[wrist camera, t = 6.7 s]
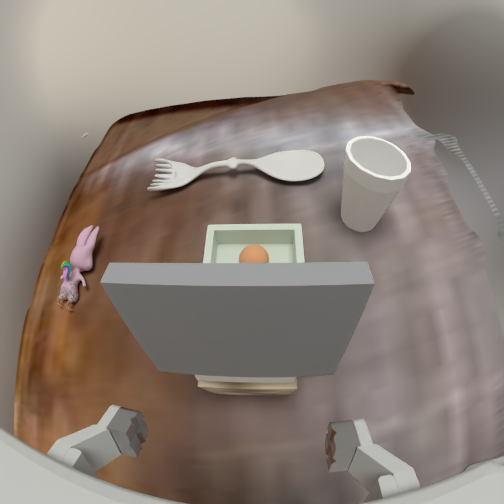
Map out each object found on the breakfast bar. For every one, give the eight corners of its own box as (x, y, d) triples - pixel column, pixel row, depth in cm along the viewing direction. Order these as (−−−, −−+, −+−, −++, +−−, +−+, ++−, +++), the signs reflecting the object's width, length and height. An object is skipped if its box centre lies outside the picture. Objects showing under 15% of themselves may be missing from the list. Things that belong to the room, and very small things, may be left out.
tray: (298, 240, 43) (301, 223, 39) (304, 323, 36) (308, 312, 32) (212, 241, 43) (208, 224, 40) (203, 323, 36) (197, 312, 33)
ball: (268, 257, 41) (268, 237, 38) (269, 280, 38) (269, 260, 35) (240, 258, 41) (238, 238, 38) (239, 280, 38) (236, 260, 35)
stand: (288, 326, 36) (294, 298, 28) (289, 395, 31) (297, 388, 23) (218, 325, 36) (205, 298, 29) (214, 393, 31) (197, 386, 24)
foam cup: (391, 239, 42) (421, 181, 31) (338, 241, 42) (357, 179, 31) (375, 196, 47) (395, 138, 36) (326, 196, 47) (338, 134, 36)
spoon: (158, 169, 54) (154, 156, 51) (316, 155, 54) (318, 141, 51) (151, 201, 49) (145, 188, 46) (327, 186, 49) (330, 172, 46)
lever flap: (330, 380, 21) (374, 283, 13) (163, 376, 22) (100, 282, 14) (319, 296, 28) (338, 187, 19) (181, 296, 28) (148, 192, 20)
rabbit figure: (85, 316, 39) (113, 232, 44) (62, 307, 33) (95, 215, 39) (60, 306, 40) (88, 228, 45) (38, 297, 34) (70, 212, 40)
